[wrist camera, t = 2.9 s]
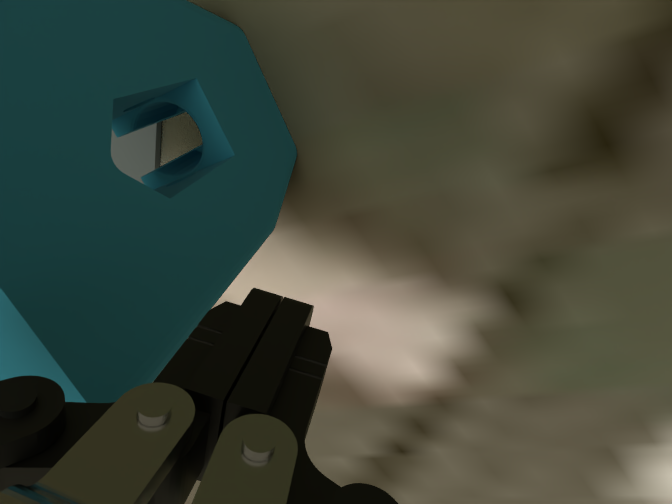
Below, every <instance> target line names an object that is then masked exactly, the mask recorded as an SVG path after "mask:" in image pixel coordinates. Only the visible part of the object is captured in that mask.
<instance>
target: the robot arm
mask: <svg viewBox="0 0 672 504" xmlns="http://www.w3.org/2000/svg"><path fill="white" fill-rule="evenodd" d="M313 307H314V306H313V305H309V304H306V303H303V302H300V301H296V300H293V299H290V298H286V297H284V298H283V296H279V295H276V294H273V293H269V292H266V291H263V290H260V289H256V288H253V289H252V290H251V291H250V293H249V294H248V296H247V297H246V299H245V300H244V302H243V303H242V305H241V306H240V305H237V304H233V303H230V302H227V301H226V302H224V303H222V304H220V305H218V306H216V307H214V308H213V309H211V310H209V311H208V312H207V313H206V315H205V316H204V317H203V318H202V320H201V321H200V322H199V324H198V326H197V327H196V328H195V329H194V330H193V331H192V333H191V334H190V335H189V338H188V339H186V340H185V342H184V343H183V344H182V346H181V347H180V348H179V349H178V351H177V352H176V353H175V355H174V356H173V357H172V358H171V360H170V361H169V362H168V364H167V365H166V366H165V367H164V369H163V370H162V371H161V373H160V374H159V375H158V376H157V378H156V379H155V380H154V382H153V383H148V384H143V385H140V386H137V387H135V388H133V389H130V390H129V391H127V392H126V393H124V394H123V395H122V396H121V397H120V398H119V399H118V400H117V401H116V402H111V403H84V402H65V395H64V391H63V389H62V388H61V386H60V385H59V384H57V383H56V382H55V381H53V380H51V379H48V378H46V377H41V376H32V375H30V376H18V377H13V378H8V379H5V380H1V381H0V504H184V503H185V501H186V499H187V498H188V496H189V494H190V492H191V490H192V488H193V486H194V484H195V482H196V480H199V481H201V482H200V485H199V487H198V490H197V492H196V494H195V497H194V499H193V502H192V504H398V503H397V502H396V501H395V500H394V499H393V498H392V497H391V496H390V495H389V494H388V493H386V492H385V491H383V490H381V489H380V488H377V487H375V486H372V485H369V484H363V483H354V484H349V485H346V486H344V487H340V486H338V485H337V484H336V483H334V482H333V481H331V480H330V479H328V478H327V477H326V476H324V475H323V474H322V473H321V472H320V471H319V470H318V469H317V468H316V467H315V466H314V465H313V463H312V462H311V460H310V458H309V456H308V454H307V451H306V448H305V438H306V435H307V431H308V428H309V425H310V422H311V419H312V415H313V412H314V409H315V406H316V403H317V400H318V396H319V393H320V390H321V386H322V382H323V379H324V375H325V372H326V368H327V365H328V361H329V358H330V354H331V351H332V346H331V342H330V338H329V334H328V332H325V331H322V330H319V329H316V328H312V327H309V325H310V321H311V317H312V313H313Z"/></svg>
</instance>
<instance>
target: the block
mask: <svg viewBox="0 0 672 504" xmlns="http://www.w3.org/2000/svg"><path fill="white" fill-rule="evenodd" d="M185 112H187V113H188V114H189V115H190V116H191V117H192V118H193V120H194V121H195V122H196V124H197V126H198V128H199V130H200V133H201V136H202V142H203V144H202V145H200V146H198V147H196V148H194V149H193V150H191V151H189V152H187V153H185V154H183V155H181V156H179V157H178V158H176V159H174V160H172V161H170V162H168V163H166V164H164V165H163V166H161V167H159V168H157V169H155V170H153V171H151V172H149V173H148V174H146V175H144V176H142V177H140V178H141V179H142V181H143V183H144V184H142V183H141V182H139V181H137V180H135V179H133V178H132V177H130V176H128V175H126V174H124V173H123V172H122V171H120V170H119V169H118V168H117V167H116V165H115V164H114V162H113V160H112V157H111V135H112V130H113V131H114V133H115V135H116V136H117V138H118V137H121V136H123V135H126V134H129V133H131V132H134V131H137V130H139V129H142V128H145V127H147V126H150V125H153V124H155V123H158V122H161V121H163V120H166V119H169V118H171V117H174V116H177V115H179V114H182V113H185ZM296 157H297V150H296V146H295V144H294V142H293V140H292V137H291V135H290V133H289V131H288V129H287V126H286V124H285V122H284V120H283V118H282V115H281V113H280V111H279V109H278V107H277V104H276V102H275V100H274V98H273V96H272V93H271V91H270V89H269V87H268V84H267V82H266V80H265V78H264V76H263V73H262V71H261V69H260V67H259V65H258V62H257V60H256V58H255V56H254V54H253V51H252V49H251V47H250V45H249V43H248V40H247V38H246V36H245V34H244V32H243V31H242V30H241V29H240V28H239V27H238V26H236V25H235V24H233V23H231V22H229V21H227V20H225V19H223V18H221V17H219V16H217V15H215V14H213V13H211V12H209V11H207V10H205V9H203V8H201V7H199V6H197V5H195V4H193V3H191V2H189V1H187V0H0V381H1V380H5V379H8V378H13V377H18V376H30V375H32V376H41V377H46V378H48V379H51V380H53V381H55V382H56V383H57V384H59V385H60V386H61V388H62V389H63V391H64V395H65V402H84V403H111V402H116V401H117V400H118V399H119V398H120V397H121V396H122V395H123V394H124V393H126V392H127V391H129V390H130V389H133V388H135V387H137V386H140V385H143V384H148V383H152V382H153V381H154V380H155V378H156V377H157V376H158V375H159V373H160V372H161V371H162V370H163V368H164V367H165V366H166V365H167V363H168V362H169V361H170V360H171V358H172V357H173V356H174V355H175V353H176V352H177V351H178V349H179V348H180V347H181V346H182V344H183V343H184V342H185V340H186V339H187V338H188V337H189V335H190V334H191V333H192V331H193V330H194V329H195V328H196V327H197V326H198V324H199V322H200V321H201V320H202V318H203V317H204V316H205V315H206V313H207V312H208V311H209V310H210V309H211V308H212V307H213V306H214V304H215V303H216V302H217V301H218V299H219V298H220V297H221V296H222V294H223V293H224V292H225V290H226V289H227V288H228V287H229V285H230V284H231V283H232V282H233V280H234V279H235V278H236V277H237V275H238V274H239V273H240V272H241V270H242V269H243V268H244V267H245V265H246V264H247V263H248V262H249V260H250V259H251V258H252V257H253V255H254V254H255V253H256V252H257V250H258V249H259V248H260V246H261V245H262V244H263V243H264V241H265V240H266V239H267V238H268V236H269V235H270V234H271V233H272V231H273V230H274V228H275V225H276V222H277V219H278V216H279V213H280V209H281V206H282V203H283V200H284V196H285V193H286V190H287V187H288V184H289V180H290V177H291V174H292V171H293V167H294V164H295V161H296Z"/></svg>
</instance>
